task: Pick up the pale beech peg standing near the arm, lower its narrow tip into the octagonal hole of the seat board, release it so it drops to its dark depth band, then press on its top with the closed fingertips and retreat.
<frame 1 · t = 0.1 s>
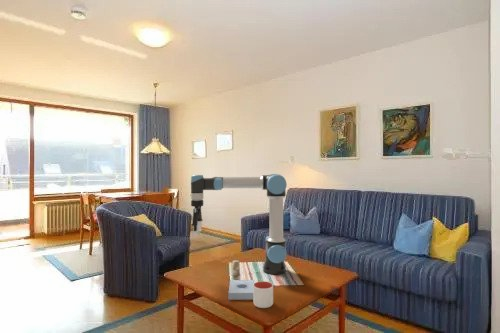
hand: (197, 233, 193), 28 cm above the table, fingers open, 13 cm apart
peg: (236, 281, 189), on the table
board: (242, 292, 172), on the table
cup: (263, 305, 157), on the table
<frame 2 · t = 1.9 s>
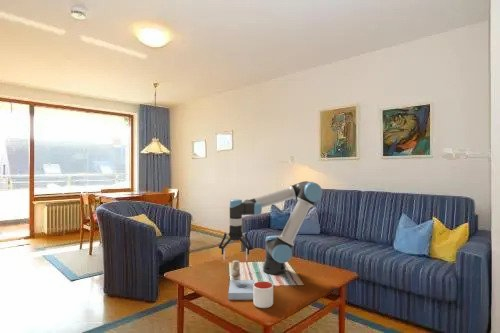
hand: (235, 259, 189), 13 cm above the table, fingers open, 13 cm apart
nothing on the table moved.
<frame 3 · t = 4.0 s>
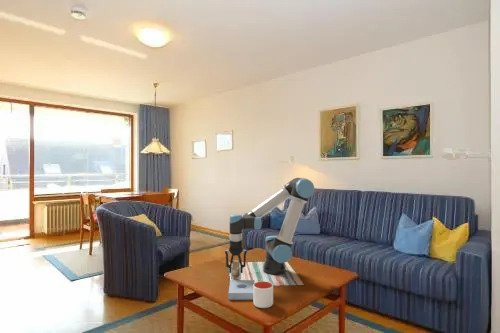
hand: (236, 278, 189), 2 cm above the table, fingers closed on peg, 4 cm apart
peg: (236, 281, 189), on the table, touching gripper
everything else where it was.
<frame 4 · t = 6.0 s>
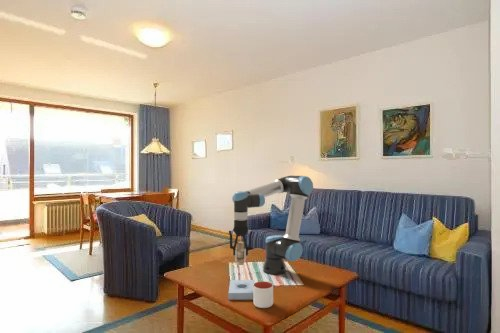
hand: (240, 261, 173), 17 cm above the table, fingers closed on peg, 4 cm apart
peg: (240, 264, 173), point 15 cm above the table, touching gripper
everything else where it was.
when the fingers open (5 cm above the table, at t = 8.3 s): peg drops 3 cm, resting in board.
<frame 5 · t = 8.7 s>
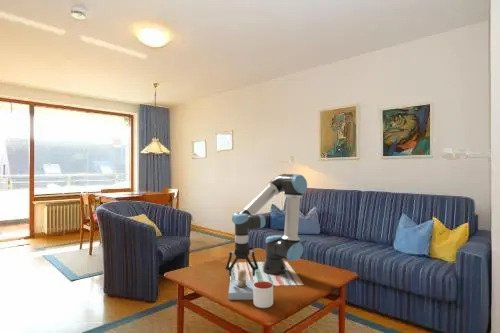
hand: (242, 281, 172), 6 cm above the table, fingers open, 10 cm apart
peg: (242, 292, 172), resting in board
everything else where it was.
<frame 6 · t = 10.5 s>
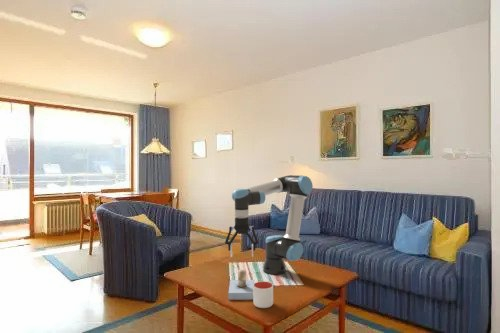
hand: (241, 256, 172), 20 cm above the table, fingers open, 11 cm apart
nothing on the table moved.
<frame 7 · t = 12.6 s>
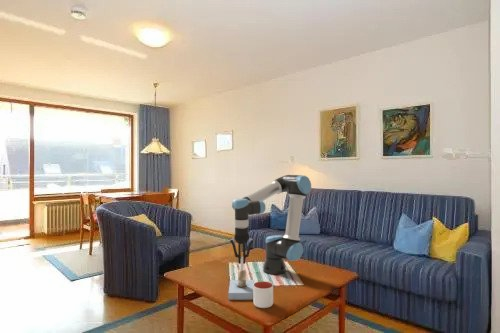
hand: (241, 269, 172), 13 cm above the table, fingers closed
nothing on the table moved.
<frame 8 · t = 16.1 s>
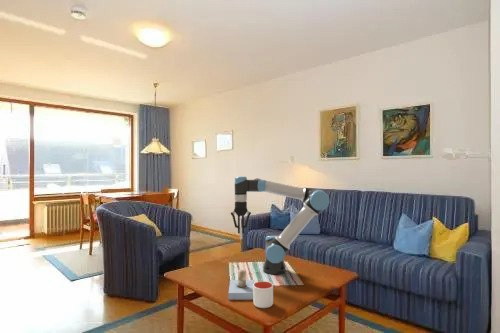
hand: (240, 238, 195), 24 cm above the table, fingers closed
nothing on the table moved.
at the end: peg 0.0 cm off-centre on the board, point 0.0 cm above the board's base; peg tilted 0°; the gripper is holding nothing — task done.
